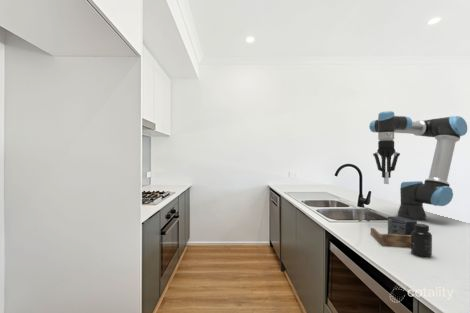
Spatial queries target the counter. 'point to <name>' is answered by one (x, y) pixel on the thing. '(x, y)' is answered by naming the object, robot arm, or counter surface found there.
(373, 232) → the channel
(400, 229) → the small box
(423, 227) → the supplement bottle
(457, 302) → the counter surface
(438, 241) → the counter surface
